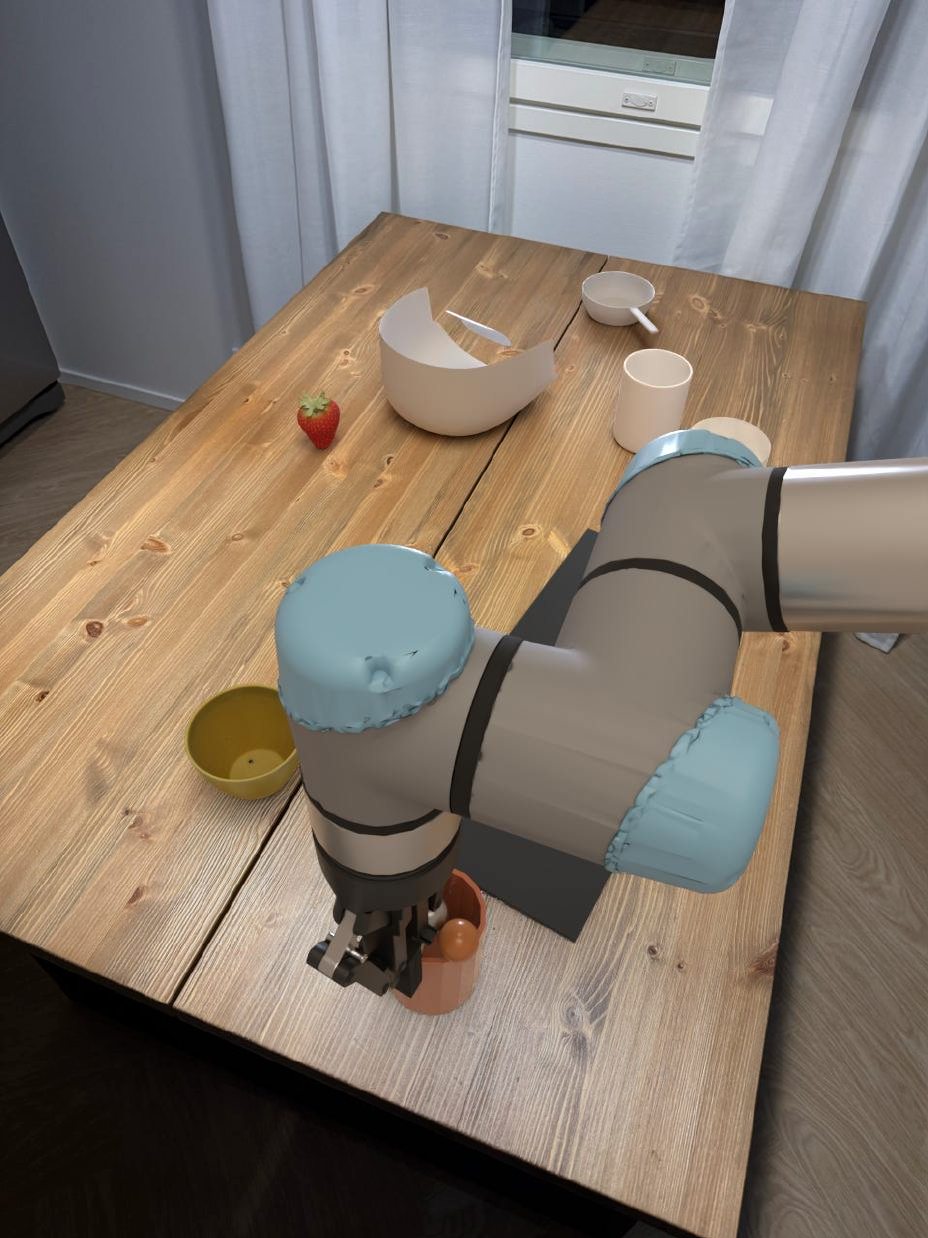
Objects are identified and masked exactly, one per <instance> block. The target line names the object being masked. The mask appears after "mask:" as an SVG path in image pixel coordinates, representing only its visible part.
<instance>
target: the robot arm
mask: <svg viewBox="0 0 928 1238" xmlns="http://www.w3.org/2000/svg"><path fill="white" fill-rule="evenodd" d="M624 470H625V471H624V472H623V475H622V476H621V478H620V480H619V482H618V484H617V486H616V487H615V489H614V490H613V492H612V494H611V495H610V497H609V499H608V501H607V502H606V503H605V505H604V509H603V512H602V515H601V517H600V524H599V525H600V527H599V528H600V529H599V531H598V532H599V534H598V537H597V539H596V542H595V545H594V548H593V551H592V553H591V556H590V559H589V562H588V564H587V567H586V570H585V573H584V576H583V578H582V581H581V583H580V585H579V587H578V589H577V591H576V594H575V596H574V597H573V600H572V603H571V605H570V608H569V610H568V613H567V615H566V618H565V621H564V623H563V626H562V628H561V631H560V633H559V636H558V639H557V641H556V644H555V646H554V647H552V646H547V645H542V644H537V643H532V642H529V641H528V640H524V639H521V638H517V637H514V636H511V635H509V634H508V633H504V632H501V631H498V630H495V629H490V628H487V627H483V626H479V625H476V624H475V619H474V618H473V617H472V614H471V606H470V602H469V598H468V596H467V593H466V591H465V589H464V587H463V584H462V583H461V581H460V580H459V579H458V577H457V576H456V575H455V574H453V572H451V571H449V570H447V569H446V568H445V567H444V566H443V565H442V564H440V563H438V561H436V560H435V559H434V558H433V556H431V555H430V554H429V553H426V552H423V551H422V550H418V549H415V548H412V547H409V546H405V545H400V544H393V543H365V544H359V545H354V546H349V547H345V548H342V549H339V550H336V551H333V552H331V553H329V554H327V555H325V556H323V557H321V558H320V559H319V558H318V559H317V560H316V561H314V562H313V563H311V564H310V565H309V566H307V567H306V568H305V569H303V570H302V571H301V573H299V575H298V576H297V577H296V578H294V580H293V581H292V582H291V584H290V585H288V586H287V587H286V588H285V591H284V593H283V595H282V597H281V599H280V601H279V604H278V606H277V609H276V613H275V619H274V628H273V629H274V630H273V631H274V633H273V635H274V642H275V650H276V651H275V652H276V661H277V668H278V669H277V670H278V676H277V679H276V683H277V688H278V695H279V699H280V701H281V703H282V706H283V708H284V710H285V713H286V716H287V720H288V723H289V727H290V730H291V734H292V737H293V741H294V744H295V748H296V751H297V755H298V758H299V762H298V770H299V775H300V777H301V783H302V789H303V793H304V798H305V799H304V800H305V804H306V809H307V813H308V818H309V822H310V829H311V833H312V834H311V835H312V839H313V844H314V849H315V853H316V857H317V861H318V865H319V868H320V870H321V873H322V875H323V877H324V879H325V881H326V882H327V885H328V886H329V887H330V889H331V891H332V892H333V894H334V895H335V899H334V904H333V907H332V918H333V920H334V922H335V924H336V925H338V926H337V928H336V930H335V932H333V931H329V932H328V933H326V936H325V938H324V940H321V941H319V942H317V943H315V944H314V945H313V946H312V947H311V949H310V950H309V952H308V953H307V956H306V959H305V963H306V964H307V966H309V967H311V968H312V969H314V970H316V971H317V972H319V973H320V974H322V975H324V976H325V977H327V978H328V979H330V980H331V981H333V982H334V983H336V984H337V985H339V986H340V987H342V988H344V989H346V988H347V987H350V986H351V985H353V984H354V985H355V983H357V984H359V985H360V986H362V987H363V988H365V989H367V990H368V991H369V992H371V993H373V994H374V995H376V996H377V997H379V998H382V997H383V996H384V995H386V994H387V993H388V991H389V989H390V990H391V989H394V988H395V989H396V990H398V991H400V992H401V993H403V994H404V995H406V996H407V997H409V998H412V996H413V995H414V993H415V991H416V990H417V988H418V987H419V985H420V983H421V982H422V961H421V942H422V943H424V944H426V945H427V946H430V945H431V944H432V943H433V941H434V940H435V938H436V936H437V933H438V929H437V928H435V927H433V926H432V925H430V924H428V910H430V911H432V912H435V911H436V910H437V909H439V907H440V906H441V904H442V898H443V894H444V889H445V884H446V881H447V880H448V878H449V877H450V875H451V874H452V872H453V870H454V868H455V866H456V863H457V860H458V856H459V852H460V842H461V820H462V817H465V818H468V819H471V820H474V821H477V822H480V823H483V824H485V825H488V826H491V827H494V828H497V829H500V830H503V831H505V832H508V833H511V834H514V835H517V836H520V837H523V838H525V839H528V840H531V841H534V842H537V843H540V844H543V845H545V846H548V847H551V848H554V849H557V850H560V851H563V852H566V853H568V854H571V855H574V856H577V857H580V858H583V859H586V860H588V861H591V862H594V863H597V864H600V865H603V866H605V869H606V870H608V871H610V872H612V873H611V874H615V875H620V874H623V873H624V874H628V875H632V876H635V877H639V878H642V879H646V880H651V881H652V882H653V881H654V882H657V883H662V884H665V885H669V886H672V887H677V888H680V889H683V890H687V891H691V892H694V893H698V894H703V895H715V894H719V893H722V892H725V891H727V890H728V889H731V887H733V886H734V885H735V884H736V883H737V882H738V881H739V879H740V878H741V877H742V876H743V874H744V873H745V871H746V869H747V868H748V866H749V864H750V862H751V860H752V857H753V856H754V853H755V851H756V848H757V845H758V843H759V840H760V837H761V834H762V832H763V828H764V825H765V822H766V819H767V816H768V812H769V809H770V805H771V802H772V797H773V793H774V789H775V784H776V779H777V774H778V768H779V762H780V756H781V747H780V746H781V745H780V734H781V732H780V727H779V725H778V723H777V720H776V718H775V717H774V716H773V715H772V714H771V713H770V712H769V711H767V710H765V709H763V708H760V707H757V706H754V705H751V704H750V703H747V702H745V701H743V700H742V699H741V698H740V697H739V696H738V695H733V696H732V695H731V693H732V688H733V683H734V676H735V668H736V664H737V660H738V654H739V651H740V646H741V642H742V636H743V633H746V632H747V633H790V632H810V633H811V632H813V633H820V632H821V633H857V634H858V633H859V634H860V633H861V634H899V635H900V634H902V635H903V634H905V635H908V634H909V635H928V456H917V457H901V458H887V459H872V460H871V459H870V460H856V461H841V462H827V463H826V462H825V463H811V464H796V465H790V466H779V467H777V466H766V467H763V465H762V463H761V462H760V460H759V459H758V458H757V456H756V455H755V454H754V453H753V452H752V451H751V450H750V449H749V448H747V447H746V446H745V445H744V444H742V443H741V442H739V441H737V440H735V439H733V438H730V439H728V438H726V437H723V436H720V435H717V434H713V433H711V432H710V431H708V430H701V429H691V428H689V429H683V430H682V429H681V430H680V429H679V431H675V432H671V433H668V434H665V435H663V436H660V437H659V438H657V439H655V440H653V441H651V442H649V443H648V444H647V445H645V446H644V447H643V448H642V449H641V450H640V451H638V452H637V453H635V455H634V456H633V457H632V458H631V460H630V461H629V463H628V464H627V466H626V468H625V469H624ZM359 937H361V938H360V940H359V941H358V938H359Z"/></svg>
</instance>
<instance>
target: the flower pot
mask: <svg viewBox="0 0 928 1238" xmlns="http://www.w3.org/2000/svg"><path fill="white" fill-rule="evenodd" d="M183 739H184V741H183V743H184V744H183V745H184V749H185V753H186V755H187V758H188V760H189V762H190V763H191V764H192V765H193V767H194V769H195V770H196V771H197V772H198V773H199V774H200V776H202V778H204V779H205V781H207V782H208V783H209V784H210V785H212V786H213V787H214V788H216V789H218V790H219V791H221V792H222V793H225V794H227V795H229V796H231V797H235V798H238V799H242V800H249V801H250V800H252V801H253V800H254V801H255V800H262V799H265V798H268V797H271V796H272V795H274V794H276V793H277V792H278V791H280V790H281V789H282V788H283V787H284V786H285V785H286V784H287V783H288V782H289V780H290V778H291V777H292V775H293V774H294V772H295V770H296V768H297V767H298V765H299V763H300V762H299V758H298V755H297V751H296V748H295V744H294V741H293V737H292V734H291V730H290V727H289V723H288V720H287V716H286V713H285V710H284V708H283V706H282V703H281V701H280V699H279V695H278V687H277V686H274V685H271V684H265V683H244V684H243V683H242V684H238V685H233V686H230V687H227V688H225V689H222V690H221V691H219V692H217V693H215V694H213V695H212V696H210V697H209V698H207V699H206V700H205V701H204V702H203V703H201V704H200V705H199V706H198V707H197V708H196V709H195V711H194V712H193V714H192V715H191V716H190V718H189V720H188V723H187V725H186V728H185V731H184V737H183ZM251 761H252V763H251Z"/></svg>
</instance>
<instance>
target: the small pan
mask: <svg viewBox="0 0 928 1238" xmlns="http://www.w3.org/2000/svg"><path fill="white" fill-rule="evenodd" d="M581 288H582V289H581V300H582V302H583V305H584V307H585V309H586V311H587V314H588V316H590V318H592V319H593V320H594V321H596V322H598V323H601V324H604V325H608V326H613V327H619V326H620V327H624V326H629V325H633V324H636V323H638V322H639V323H640V324H641V325H642V326H643V328H645V330H647V331H648V332H649V334H651V335H654V334H658V333H659V329H658V328H657V327H656V326H655V325H654V323H652V322H651V320H650V319H648V317H646V316H645V315H646V314H647V313H648V311H649V310H650V309H651V308H652V304H653V302H654V298H655V294H656V293H655V292H656V291H655V288H654V286H653V284H652V283H650V282H649V280H647V279H646V278H643V277H641V276H639V275H637V274H634V273H631V272H626V271H618V270H617V271H616V270H615V271H614V270H613V271H610V270H609V271H601V272H598V273H595V274H592V275H590V276H588V277H587V278H586V279H585V280H584V281H583V283H582V285H581Z"/></svg>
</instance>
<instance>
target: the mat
mask: <svg viewBox="0 0 928 1238" xmlns="http://www.w3.org/2000/svg"><path fill="white" fill-rule="evenodd" d="M598 534H599V531H597V530H594V529H592V528H587V529H586V530H585V532H584V533H583V534H582V535H581V537H580V538H579V539H578V541H577V542H576V543H575V545H574V546H573V547H572V549H571V550H570V551H569V553H568V554H567V556H566V557H565V558H564V560H563V561H562V562H561V564H560V565H559V566H558V567H557V569H555V572H554V573H553V574H552V576H551V577H550V579H549V580H548V581H547V582H546V584H545V585H544V586H543V588H542V589H541V591H540V592H539V593H538V594H537V596H536V598H534V600H533V601H532V603H531V604H530V606H529V607H528V608H527V609H526V611H525V612H524V613H523V615H522V616H521V618H520V619H519V620H518V621H517V623H516V624H515V626H514V627H513V628H512V630H511V631H510V632H509V634H508V635H511V636H514V637H517V638H521V639H524V640H528V641H529V642H532V643H537V644H542V645H547V646H552V647H554V646H555V644H556V641H557V639H558V636H559V633H560V631H561V628H562V626H563V623H564V621H565V618H566V615H567V613H568V610H569V608H570V605H571V603H572V600H573V597H574V596H575V594H576V591H577V589H578V587H579V585H580V583H581V581H582V578H583V576H584V573H585V570H586V567H587V564H588V562H589V559H590V556H591V553H592V551H593V548H594V545H595V542H596V539H597V537H598ZM454 869H456V870H458V871H461V872H463V873H465V874H466V875H467V876H468V877H469V878H470V879H471V880H472V881H473V882H474V883H475V884H476V885H477V886H478V887H479V889H480V891H481V892H484V893H485V894H487V895H489V896H491V897H493V898H494V899H496V900H498V901H500V902H501V903H504V904H505V905H507V906H509V907H510V908H512V909H514V911H517V912H519V913H520V914H523V915H524V916H526V917H528V918H530V919H531V920H532V921H535V922H536V923H538V924H540V925H542V926H543V927H546V929H549V930H550V931H552V932H554V933H555V934H557V935H559V936H561V937H562V938H564V939H566V940H568V941H569V942H572V943H573V944H576V942H577V941H578V938H579V936H580V935H581V933H582V931H583V929H584V927H585V925H586V923H587V921H588V919H589V918H590V916H591V913H592V911H593V910H594V908H595V906H596V904H597V902H598V900H599V899H600V896H601V894H602V893H603V891H604V888H605V887H606V885H607V883H608V881H609V879H610V877H611V875H612V874H613V873H612V872H610V871H608V870H606V869H605V866H603V865H600V864H597V863H594V862H591V861H588V860H586V859H583V858H580V857H577V856H574V855H571V854H568V853H566V852H563V851H560V850H557V849H554V848H551V847H548V846H545V845H543V844H540V843H537V842H534V841H531V840H528V839H525V838H523V837H520V836H517V835H514V834H511V833H508V832H505V831H503V830H500V829H497V828H494V827H491V826H488V825H485V824H483V823H480V822H477V821H474V820H471V819H468V818H465V817H462V820H461V842H460V852H459V856H458V860H457V863H456V866H455V868H454Z"/></svg>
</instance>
